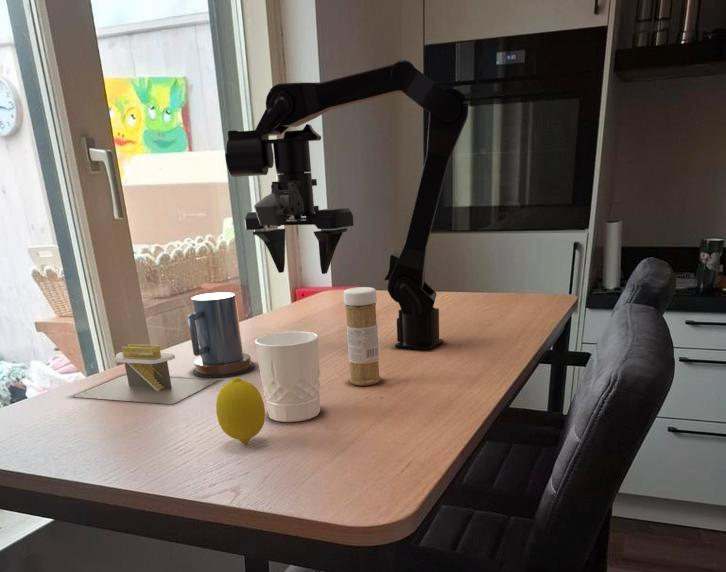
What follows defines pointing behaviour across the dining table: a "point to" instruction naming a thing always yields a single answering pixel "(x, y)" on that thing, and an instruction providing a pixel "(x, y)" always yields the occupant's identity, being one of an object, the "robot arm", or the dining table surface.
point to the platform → (146, 379)
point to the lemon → (240, 410)
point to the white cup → (290, 374)
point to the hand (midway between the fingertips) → (302, 273)
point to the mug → (217, 335)
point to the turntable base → (224, 375)
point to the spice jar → (362, 335)
